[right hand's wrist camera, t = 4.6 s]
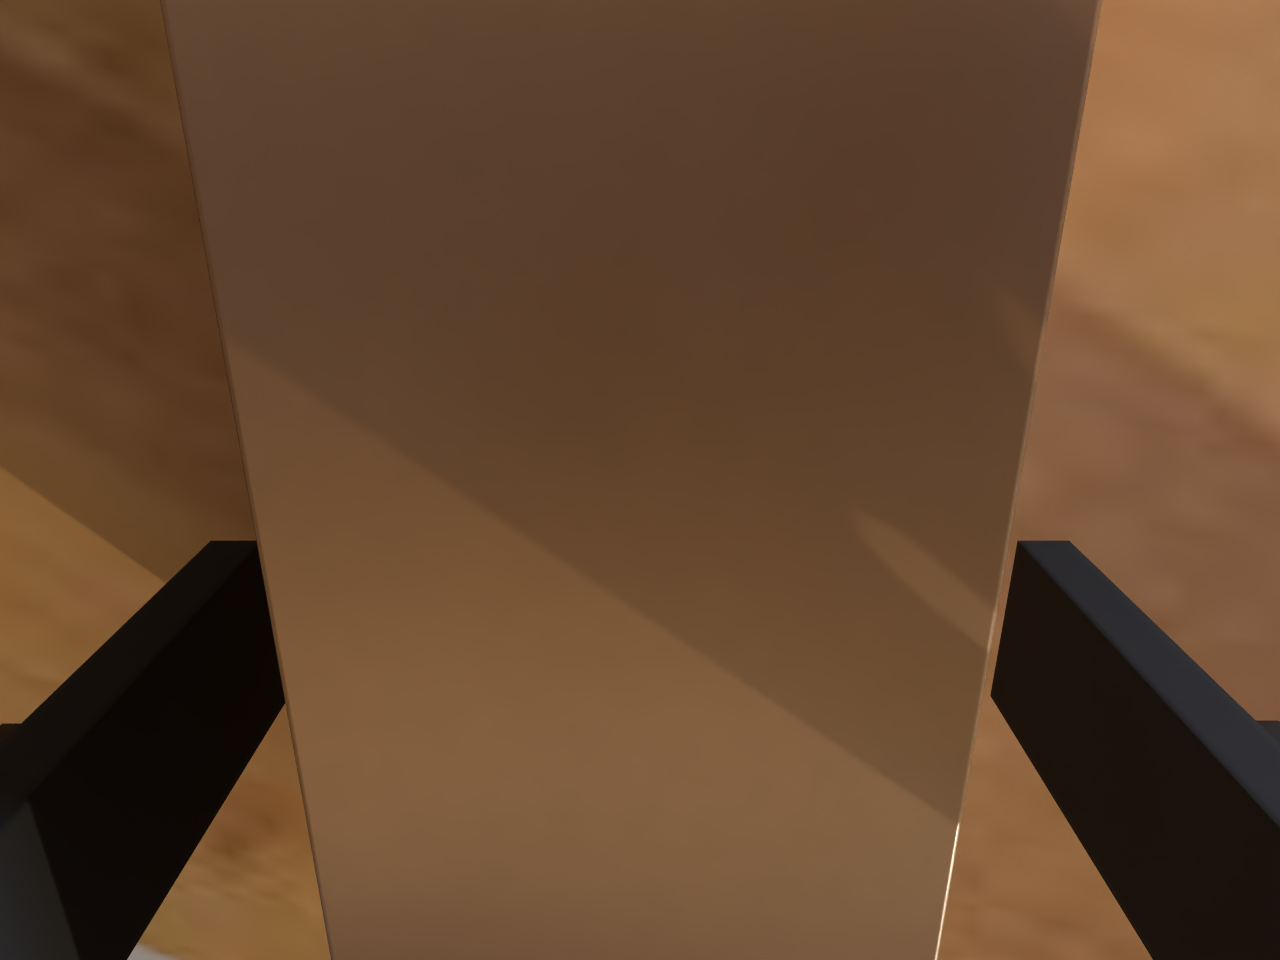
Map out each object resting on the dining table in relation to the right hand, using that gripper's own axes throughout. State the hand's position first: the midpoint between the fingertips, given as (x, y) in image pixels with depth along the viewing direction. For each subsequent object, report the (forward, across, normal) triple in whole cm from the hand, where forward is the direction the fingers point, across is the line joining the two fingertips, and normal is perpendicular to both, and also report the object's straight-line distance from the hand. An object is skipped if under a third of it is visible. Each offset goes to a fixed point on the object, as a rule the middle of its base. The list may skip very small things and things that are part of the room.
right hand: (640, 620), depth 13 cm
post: (+2, 0, -21) cm, 21 cm away
